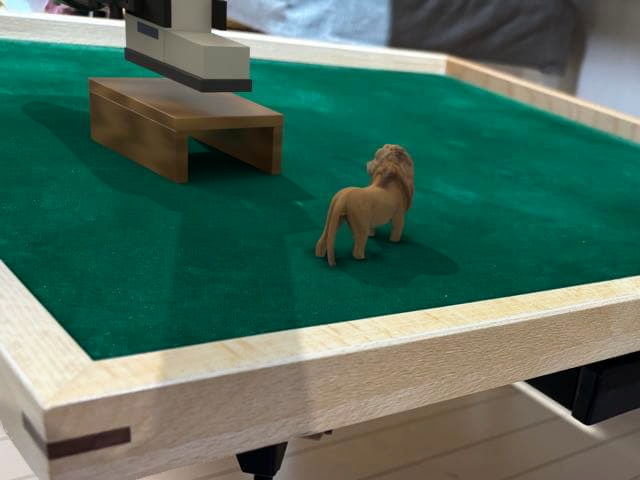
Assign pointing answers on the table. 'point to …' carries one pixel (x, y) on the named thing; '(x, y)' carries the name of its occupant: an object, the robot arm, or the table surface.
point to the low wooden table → (181, 124)
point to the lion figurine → (372, 202)
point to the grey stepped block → (189, 50)
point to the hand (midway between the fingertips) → (196, 14)
